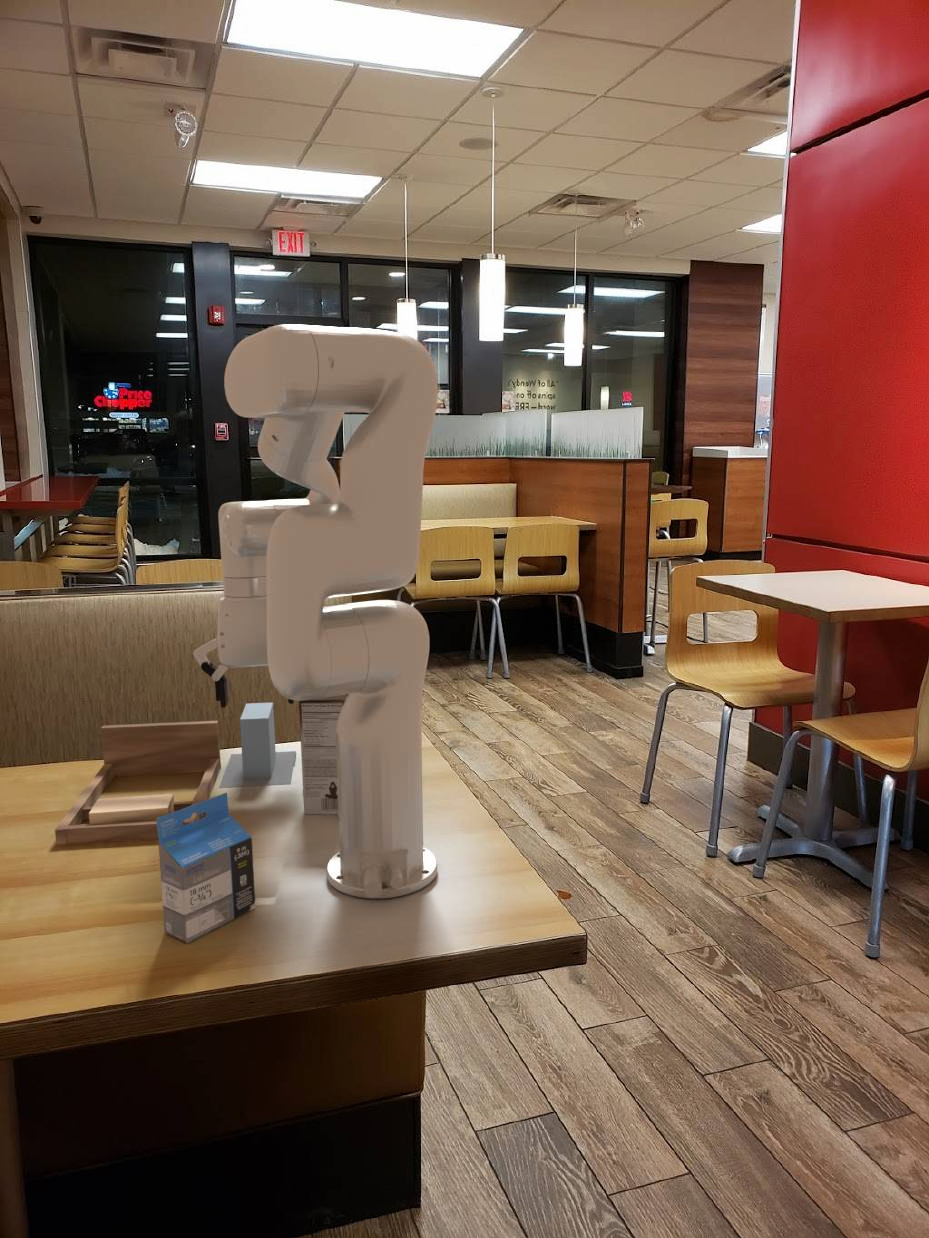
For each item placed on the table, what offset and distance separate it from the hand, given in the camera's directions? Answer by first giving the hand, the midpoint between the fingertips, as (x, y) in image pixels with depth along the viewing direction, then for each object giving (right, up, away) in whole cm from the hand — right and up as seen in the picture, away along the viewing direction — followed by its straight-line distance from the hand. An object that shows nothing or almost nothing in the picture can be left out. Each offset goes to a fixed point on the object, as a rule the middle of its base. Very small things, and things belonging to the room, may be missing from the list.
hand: (258, 703), depth 133 cm
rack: (-13, -13, -10) cm, 21 cm away
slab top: (-12, -13, -18) cm, 25 cm away
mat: (0, -11, +3) cm, 11 cm away
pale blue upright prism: (0, -10, +3) cm, 10 cm away
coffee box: (+12, -13, -8) cm, 20 cm away
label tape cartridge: (+4, -19, -39) cm, 44 cm away
